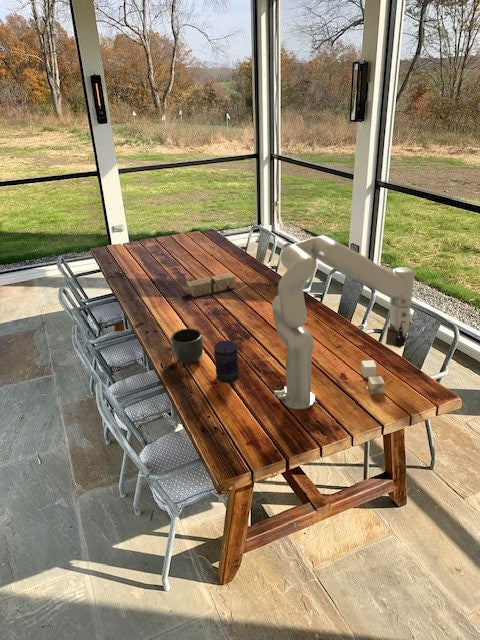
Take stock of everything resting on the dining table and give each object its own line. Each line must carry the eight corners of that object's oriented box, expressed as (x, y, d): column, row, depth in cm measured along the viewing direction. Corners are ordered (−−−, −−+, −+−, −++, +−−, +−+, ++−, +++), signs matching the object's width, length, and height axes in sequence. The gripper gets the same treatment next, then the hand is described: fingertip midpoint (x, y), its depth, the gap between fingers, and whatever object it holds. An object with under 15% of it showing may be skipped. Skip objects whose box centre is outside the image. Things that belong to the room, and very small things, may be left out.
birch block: (370, 394, 181) (371, 384, 179) (367, 387, 185) (368, 376, 183) (383, 394, 181) (384, 383, 179) (380, 386, 185) (381, 376, 183)
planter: (170, 357, 215) (167, 332, 209) (198, 349, 220) (196, 325, 214) (179, 371, 204) (175, 346, 198) (208, 363, 208) (206, 338, 202)
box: (391, 338, 186) (393, 321, 183) (406, 342, 183) (408, 325, 180) (385, 344, 182) (387, 327, 179) (400, 348, 179) (402, 331, 176)
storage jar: (217, 370, 203) (214, 340, 196) (239, 369, 202) (237, 340, 195) (215, 383, 194) (212, 352, 187) (239, 382, 193) (236, 352, 187)
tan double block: (231, 285, 293) (187, 293, 283) (230, 272, 290) (186, 280, 279) (236, 289, 287) (191, 297, 276) (235, 276, 283) (190, 284, 273)
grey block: (363, 377, 192) (364, 367, 189) (360, 370, 196) (361, 360, 194) (375, 376, 192) (376, 366, 189) (372, 370, 196) (373, 360, 194)
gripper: (418, 309, 166) (413, 351, 174) (403, 290, 182) (398, 329, 190) (397, 310, 167) (393, 351, 174) (384, 291, 182) (380, 330, 190)
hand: (396, 340), depth 182 cm, fingers closed on box, 8 cm apart
